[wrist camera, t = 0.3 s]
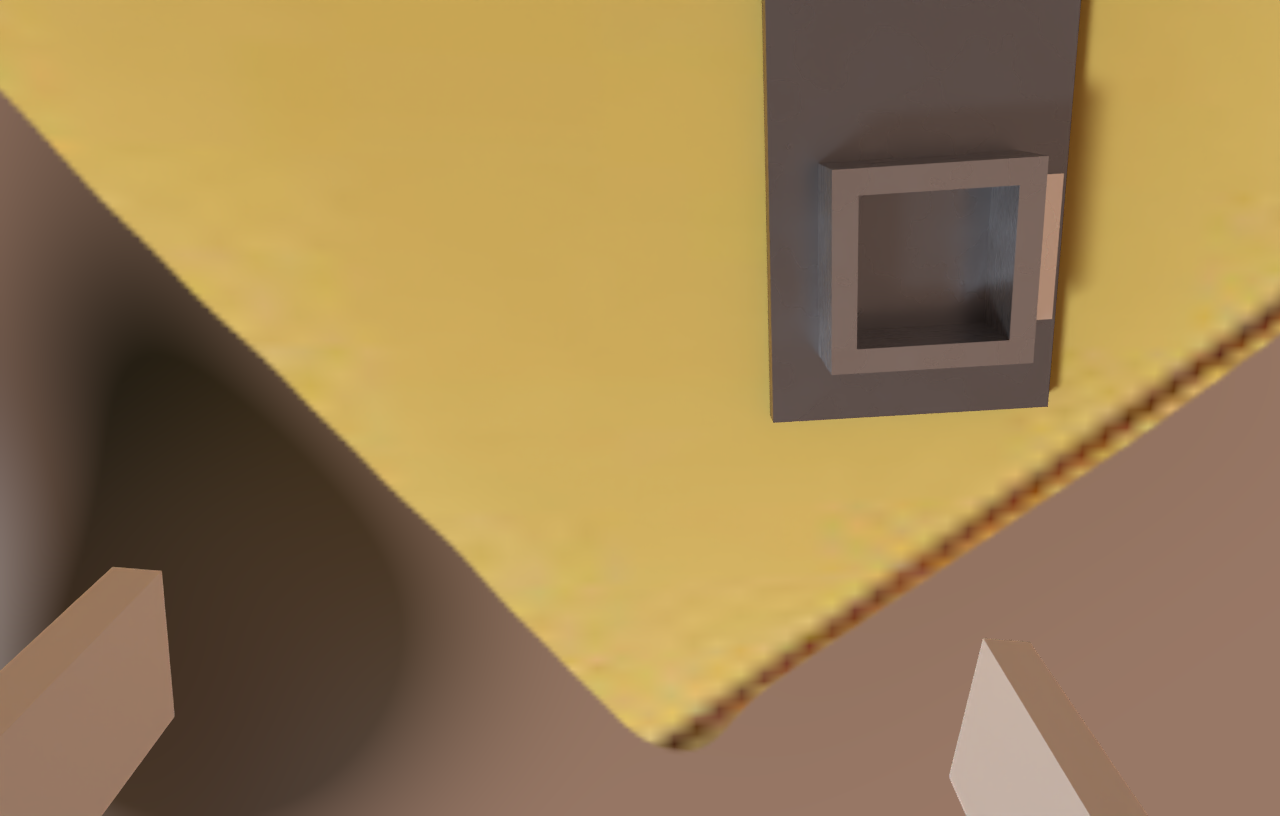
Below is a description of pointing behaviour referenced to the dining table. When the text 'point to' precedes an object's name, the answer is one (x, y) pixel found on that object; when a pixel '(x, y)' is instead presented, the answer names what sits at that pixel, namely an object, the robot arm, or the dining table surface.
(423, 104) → the dining table surface
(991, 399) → the panel
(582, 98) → the dining table surface
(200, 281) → the dining table surface
